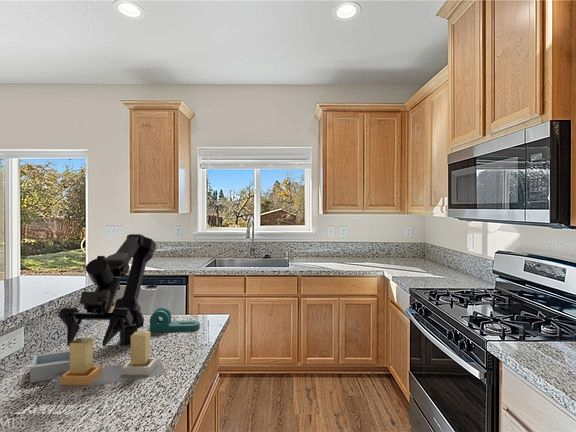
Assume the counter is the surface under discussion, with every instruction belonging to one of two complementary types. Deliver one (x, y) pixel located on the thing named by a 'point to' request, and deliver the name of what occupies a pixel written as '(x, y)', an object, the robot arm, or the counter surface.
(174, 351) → the counter surface
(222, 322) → the counter surface
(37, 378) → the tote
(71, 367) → the block
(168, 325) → the bracket
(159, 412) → the counter surface
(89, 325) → the counter surface
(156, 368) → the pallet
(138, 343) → the block
